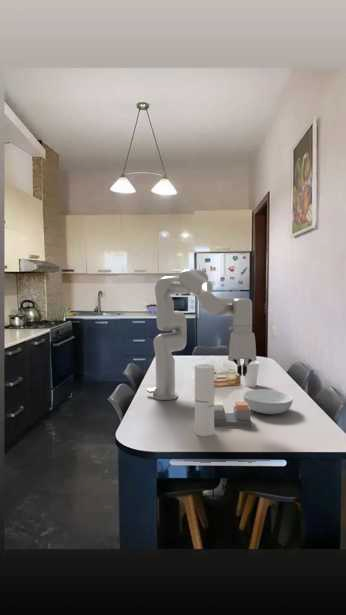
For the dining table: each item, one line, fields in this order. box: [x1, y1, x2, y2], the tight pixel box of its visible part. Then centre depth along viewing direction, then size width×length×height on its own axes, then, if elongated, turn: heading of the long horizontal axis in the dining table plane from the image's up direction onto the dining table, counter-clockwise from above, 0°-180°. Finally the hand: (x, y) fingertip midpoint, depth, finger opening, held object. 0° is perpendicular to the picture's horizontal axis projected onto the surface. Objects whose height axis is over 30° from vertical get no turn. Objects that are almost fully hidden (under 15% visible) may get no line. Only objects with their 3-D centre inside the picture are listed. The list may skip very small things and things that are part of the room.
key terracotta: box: [235, 401, 249, 411], centre depth 145 cm, size 4×4×3 cm
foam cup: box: [241, 360, 260, 388], centre depth 201 cm, size 10×9×13 cm
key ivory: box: [214, 401, 224, 411], centre depth 146 cm, size 4×4×3 cm
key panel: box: [214, 405, 253, 428], centre depth 146 cm, size 16×10×6 cm, turn 88°
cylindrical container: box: [194, 363, 215, 437], centre depth 135 cm, size 7×7×25 cm
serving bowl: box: [243, 388, 294, 415], centre depth 159 cm, size 21×21×7 cm
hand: (242, 375), depth 145 cm, fingers closed
